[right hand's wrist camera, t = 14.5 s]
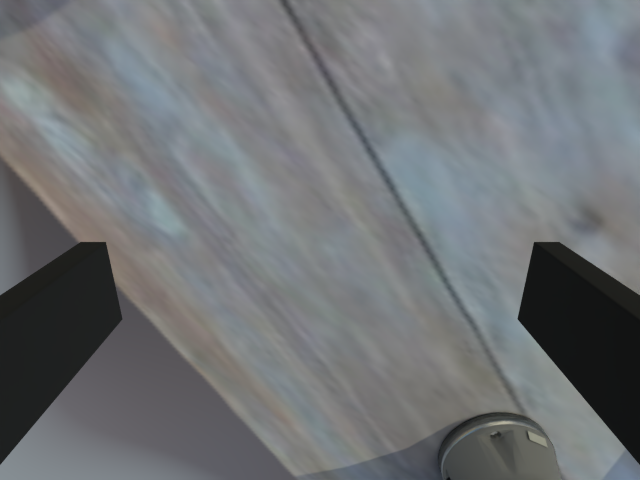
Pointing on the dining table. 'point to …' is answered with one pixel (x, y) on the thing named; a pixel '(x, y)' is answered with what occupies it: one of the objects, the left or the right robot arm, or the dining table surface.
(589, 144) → the dining table surface
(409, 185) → the dining table surface
